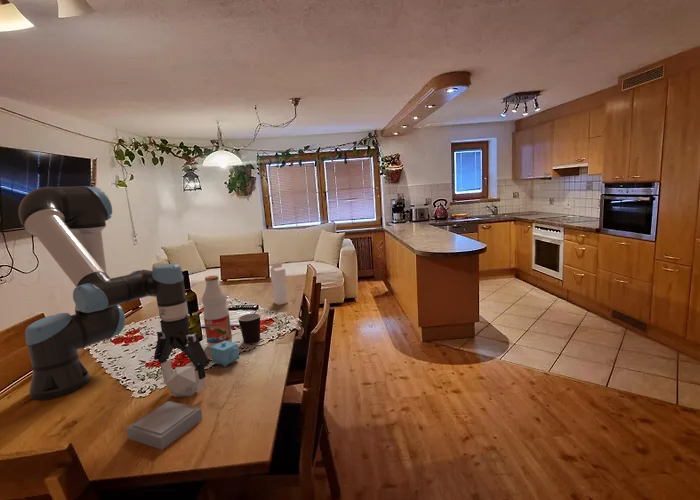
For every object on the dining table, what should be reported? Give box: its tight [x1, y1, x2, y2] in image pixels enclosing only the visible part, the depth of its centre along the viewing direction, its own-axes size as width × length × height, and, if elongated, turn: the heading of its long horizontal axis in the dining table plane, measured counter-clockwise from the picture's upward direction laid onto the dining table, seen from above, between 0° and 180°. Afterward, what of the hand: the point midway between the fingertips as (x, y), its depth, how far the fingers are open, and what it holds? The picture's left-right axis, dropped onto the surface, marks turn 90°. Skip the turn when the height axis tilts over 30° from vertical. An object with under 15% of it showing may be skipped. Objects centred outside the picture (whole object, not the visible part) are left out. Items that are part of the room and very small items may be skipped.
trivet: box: [126, 400, 203, 451], centre depth 90 cm, size 12×12×3 cm
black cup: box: [237, 313, 261, 345], centre depth 145 cm, size 12×9×10 cm
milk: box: [269, 262, 289, 306], centre depth 193 cm, size 6×6×22 cm
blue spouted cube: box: [210, 341, 240, 368], centre depth 125 cm, size 12×6×8 cm, turn 56°
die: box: [165, 365, 197, 398], centre depth 106 cm, size 8×9×10 cm
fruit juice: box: [201, 274, 233, 349], centre depth 140 cm, size 9×9×28 cm
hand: (184, 384), depth 106 cm, fingers open, 13 cm apart
